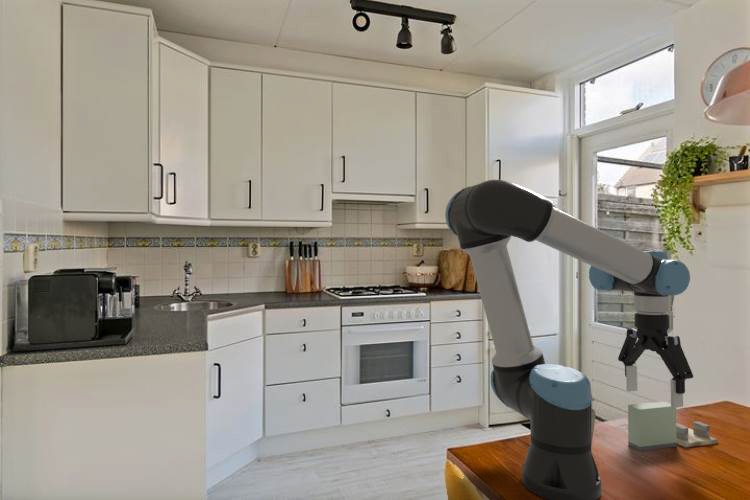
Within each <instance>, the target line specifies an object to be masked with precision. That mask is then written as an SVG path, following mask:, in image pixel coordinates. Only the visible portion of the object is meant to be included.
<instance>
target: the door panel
mask: <svg viewBox="0 0 750 500" xmlns="http://www.w3.org/2000/svg"><path fill="white" fill-rule="evenodd" d="M676 423H677V407H675V408H673V407H671V402H670V403H669V402H667V401H657V402H647V403H646V402H645V403H636V404H635V403H634V404H627V434H628V435H627V437H628V438H627V439H628V441H627V442H628V443H627V444H628V446H629V447H631V448H633V447H634V448H633V449H635V450H637V451H639V452H642V450H644V451H650V450H658V449H665V448H674V447H675V448H676V447H677V445H678V444H677V443H676Z"/></svg>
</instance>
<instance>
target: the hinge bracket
mask: <svg viewBox="0 0 750 500" xmlns="http://www.w3.org/2000/svg"><path fill="white" fill-rule="evenodd" d="M692 424H693V427H692V428H693V429H692V428H691V427H690V428H689V427H687V426H685V425H683V424H679V423H677V422H676V443H677V445H678V446H679V445H680V446H682V447H684V448H691V447H698V446H699V447H700V446H701V447H702V446H706V445H708V446H709V445H714V444H718V442H719V441H718V439H717V438H716V437H713V436H711V432H710V431H711V427H710V426H711V425H709V424H706V423H703V422H701V421H698V420H697V421H693V423H692Z"/></svg>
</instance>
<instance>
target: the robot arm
mask: <svg viewBox="0 0 750 500" xmlns="http://www.w3.org/2000/svg"><path fill="white" fill-rule="evenodd" d="M444 215H445V222H446V225H447V227H448V229H449V231H451V233H453V235H455V236H457V239H458V240H457V241H458V243H459V246H460V247H459V248H460V250H461V251H462V252H463V253H465V254H467V255H468V256H469V258H470V262H471V265H472V269H473V270H472V271H473V273H474V276H475V280H476V284H477V287H478V291H479V295H480V298H481V299H480V300H481V302H482V305H483V310H484V313H485V317H486V321H487V324H488V327H489V331H490V335H491V339H492V343H493V345H494V350H495V354H494V355H493V357H492V358H491V364H492V367H493V368H492V371H491V374H490V386H491V389H492V390H493V393H494V395H495V396H496V397H497V399H499V401H500V402H501V403H502V404H503V405H505V407H507V408H510V409H511V410H512V411H515V412H516V413H517V414H520V415H521V416H523V417H525V418H527V419H528V420H530V443H529V447H528V450H527V452H526V455H525V459H524V463H523V465H522V468H521V481H522V484H523V486H524V487H525V488H526V489H527V490H528V491H530V492H531V493H533V494H534V495H537V496H538V497H541V498H543V499H546V500H598V499H599V498H600V497H601V495H602V480H601V477H600V474H599V471H598V467H597V464H596V462H595V458H594V455H593V452H592V446H591V414H592V409H593V407H592V402H593V395H592V388H591V387H592V386H591V382H590V380H589V378H588V376H587V375H586V374H584V373H583V372H581V371H580V370H577V369H575V368H572V367H569V366H563V365H562V364H554V363H553V364H552V363H546V360H545V357H544V354H543V351H542V349H541V348H540V347H538V346H536V345H534V343H533V339H532V336H531V333H530V328H529V325H528V321H527V317H526V313H525V309H524V306H523V303H522V299H521V295H520V292H519V287H518V284H517V279H516V276H515V273H514V268H513V264H512V262H511V258H510V255H509V249H508V243H509V242H510V240H511V238H512V237H515V238H518V239H520V240H523V241H525V242H526V243H532V242H534V241H536V242H539V243H540V244H543V245H545V246H547V247H550V248H552V249H554V250H557V251H558V252H561V253H563V254H566V255H567V256H570V257H572V258H574V259H576V260H578V261H580V262H582V263H585V264H587V265H590V267H589V271H588V278H589V281H590V284H591V286H592V287H593V288H594V289H595V290H597V291H607V292H611V291H621V292H622V291H623V292H632V293H633V310H634V311H635V312H634V328H633V327H632V328H627V329H626V336H625V340H624V342H623V344H622V347H621V349H620V352H619V355H618V357H617V360H618V361H619V362H622V363H623V365H624V376H625V378H626V380H625V381H626V382H625V383H626V391H627V392H636V391H638V366H637V365H636V362H637V361H638V360H639V359H640V358H641V356H642V354H644V352H645V350H648V351H651V352H655V353H656V354H657V355H658V356H659V357H660V358H661V360H662V361H663V362H664V364H665V367H666V368H667V370H668V372H669V373H670V374H671V377H672V378H670V404H671V407H673V408H675V407H676V408H682V407H684V394H685V392H686V380H687V379H693V378H694V374H693V371H692V369H691V367H690V364H689V362H688V359H687V357H686V355H685V352H684V349H683V347H682V345H681V338H680V336H679V335H669V334H668V330H669V329H670V328H671V327H670V315H669V314H668V313H669V312H670V296H679V295H682V294H683V293H684V292H685V291H687V289H688V287H689V284H690V282H691V274H690V271H689V268H688V266H687V265H686V264H685V263H683V261H681V260H675V259H671V258H670V259H669V258H668V254H667V252H666V251H664V250H642V249H640V248H638V247H636V246H635V245H632V244H630V243H628V242H626V241H623V240H622V239H620V238H617V237H615V236H613V235H612V234H609V233H607V232H605V231H603V230H601V229H600V228H597V227H595V226H593V225H590V224H589V223H588V222H584V221H583V220H580V219H578V218H577V217H574V216H572V215H570V214H568V213H566V212H564V211H562V210H561V209H559V208H555V207H554V203H553V201H552V200H551V199H549V198H547V197H545V196H543V195H541V194H539V193H536V192H535V191H532V190H531V189H528V188H525V187H524V186H521V185H519V184H516V183H513V182H511V181H507V180H501V179H489V180H486V181H482V182H481V183H477V184H474V185H471V186H467V187H464V188H462V189H461V190H460V191H458V192H456V193H455V194H453V196H452V197H451V198H450V199H449V201H448V203H447V204H446V207H445V214H444Z"/></svg>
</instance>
